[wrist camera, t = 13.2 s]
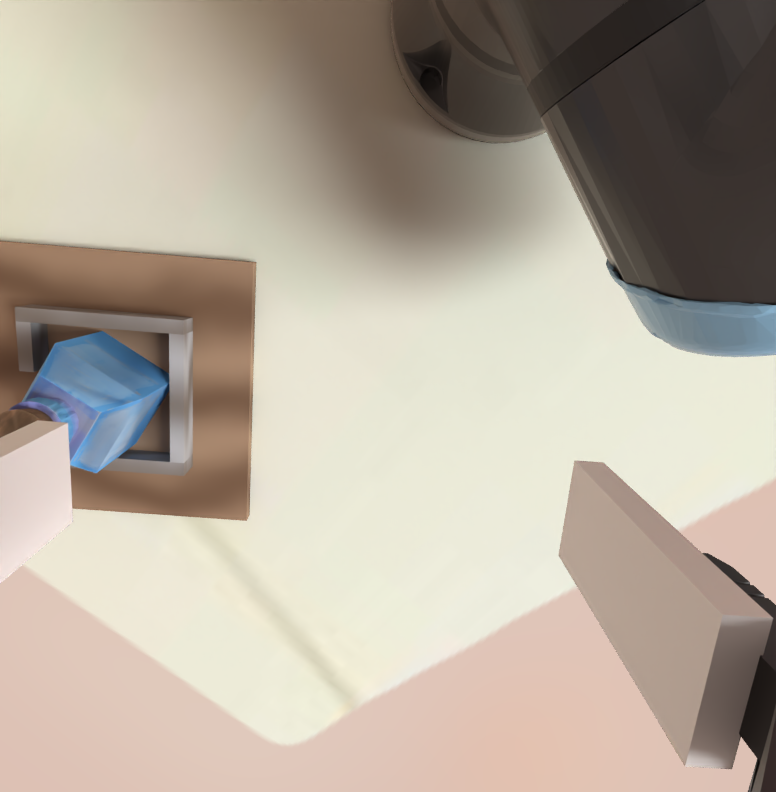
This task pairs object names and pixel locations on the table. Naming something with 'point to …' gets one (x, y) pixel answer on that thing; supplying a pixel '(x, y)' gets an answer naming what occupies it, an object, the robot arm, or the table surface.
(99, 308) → the pocket board
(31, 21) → the table surface
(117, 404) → the perfume bottle
